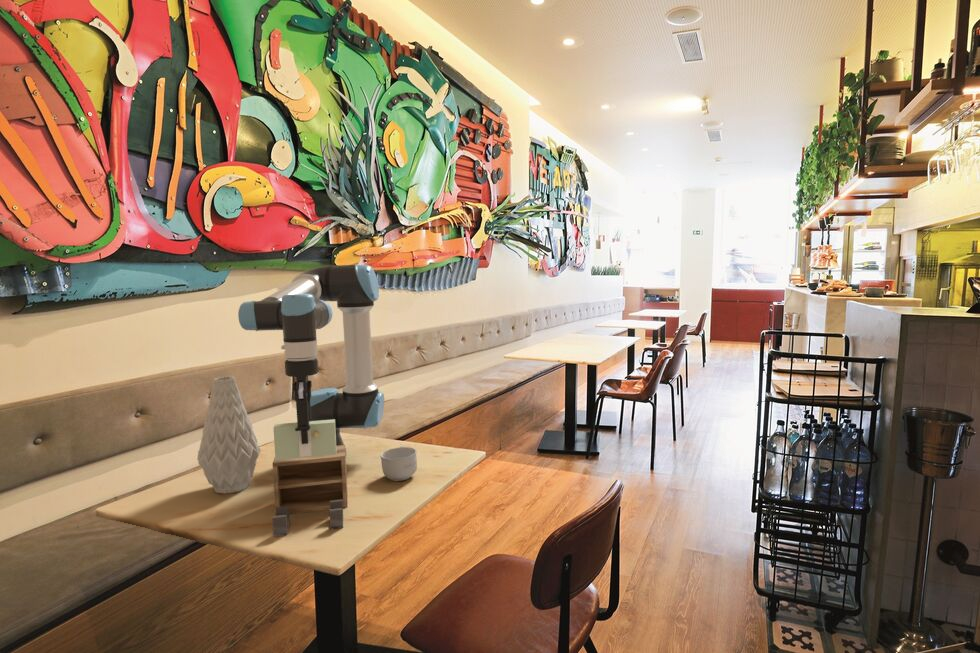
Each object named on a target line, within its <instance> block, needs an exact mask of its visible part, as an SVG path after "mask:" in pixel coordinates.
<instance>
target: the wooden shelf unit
mask: <svg viewBox="0 0 980 653" xmlns="http://www.w3.org/2000/svg"><path fill="white" fill-rule="evenodd" d="M345 448H346V444H344V445H338V446H336V450H337V451H336V454H335V455H324V456H314V457H304V458H294V459H283V460H275V457H274V459H273V461H272V473H273V474H272V476H273V477H272V478H273V490H274V491H273V494H274V508H275V515H273V516H272V530H273V537H281V536H287V535H288V533H289V529H290V528H289V527H290V524H291V523H290V522H291V520H290V518H291V517H290V515H291V514H301V513H308V512H316V511H326V510H328V511H329V527H330V529H329V530H335V529H343V528H344V508H348V478H347V477H348V475H347V474H348V473H347V450H346V451H345Z"/></svg>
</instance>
